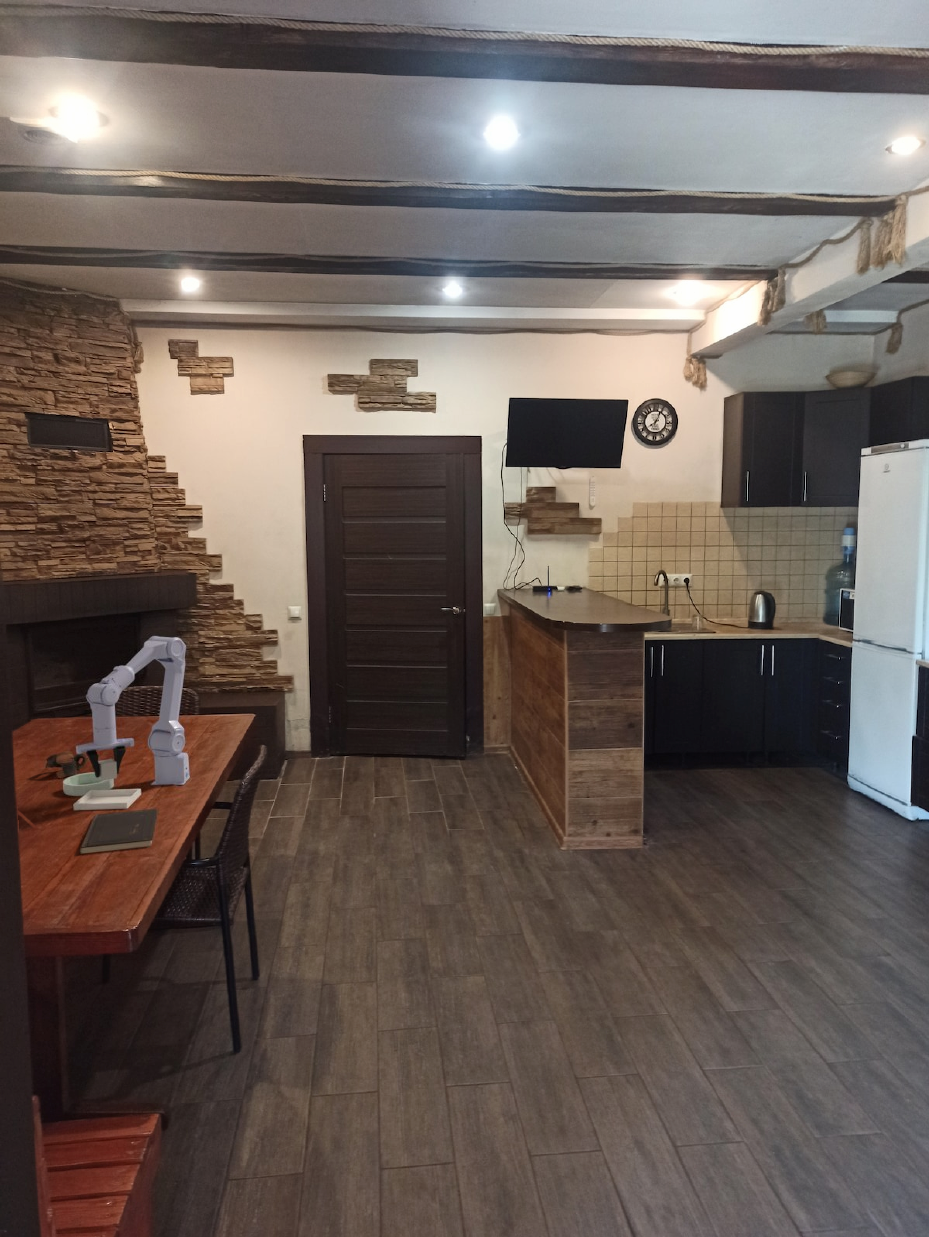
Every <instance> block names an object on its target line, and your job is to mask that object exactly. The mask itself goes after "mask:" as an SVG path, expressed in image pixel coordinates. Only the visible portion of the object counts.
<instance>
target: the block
mask: <svg viewBox="0 0 929 1237" xmlns="http://www.w3.org/2000/svg"><path fill="white" fill-rule="evenodd" d="M98 768H99V777H98V779H100V780H101V781H105V780H110V779H118V774H117V765H116V761H114V759H112V758H108V759H103V760H98Z"/></svg>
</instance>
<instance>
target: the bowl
mask: <svg viewBox="0 0 929 1237" xmlns="http://www.w3.org/2000/svg"><path fill="white" fill-rule="evenodd" d="M114 779H115V778H114ZM114 779H110V780H105V781H101V780H100V779H98V778H96V776H95V772H94V771H93V772H85V773H77V775H73V776H67V777H66V778H65V779H64V780H63V781H62V787H63V793H64V794H65V795H67V796H73V797H83V796H84V795H85V794H86V793H88V792H89V791H90V790H112V789H113V787H115V783H114Z"/></svg>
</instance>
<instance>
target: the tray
mask: <svg viewBox="0 0 929 1237" xmlns="http://www.w3.org/2000/svg"><path fill="white" fill-rule="evenodd" d="M141 795H142V789H141V788H130V789H129V788H127V789H126V788H124V789H119V788H118V789H110V790H90V791H89V792H88V793H86V794H85V795H84V796H81V797H80V798H79V799H78V800H77V801H75V802H74V803H73V811H92V810H97V811H98V810H122V809H123V810H125V809H129V807H130V806H131V805H132V804H133V803H134V802H136V800H138V799H139V798H140V796H141Z"/></svg>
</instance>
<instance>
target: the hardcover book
mask: <svg viewBox="0 0 929 1237" xmlns="http://www.w3.org/2000/svg"><path fill="white" fill-rule="evenodd" d="M158 813H159V808H152V809H150V808H149V809H140V810H128V811H120V812H119V811H118V812H110V813H109V812H108V813H100V814H99V813H98V814H94V815H93V817H92V819H91V822H90V824H89V825H88V829H87V831H86V833H85V836H84V839H83V841H82V843H81V845H80V848H79V854H80V855H81V854H90V853H99V852H107V851H110V852H111V851H117V850H126V849H136V848H146V847H151V846H152V842H153V839H154V834H155V829H156V823H157V819H158Z"/></svg>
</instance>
